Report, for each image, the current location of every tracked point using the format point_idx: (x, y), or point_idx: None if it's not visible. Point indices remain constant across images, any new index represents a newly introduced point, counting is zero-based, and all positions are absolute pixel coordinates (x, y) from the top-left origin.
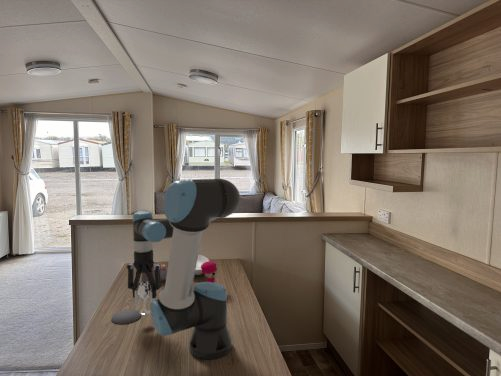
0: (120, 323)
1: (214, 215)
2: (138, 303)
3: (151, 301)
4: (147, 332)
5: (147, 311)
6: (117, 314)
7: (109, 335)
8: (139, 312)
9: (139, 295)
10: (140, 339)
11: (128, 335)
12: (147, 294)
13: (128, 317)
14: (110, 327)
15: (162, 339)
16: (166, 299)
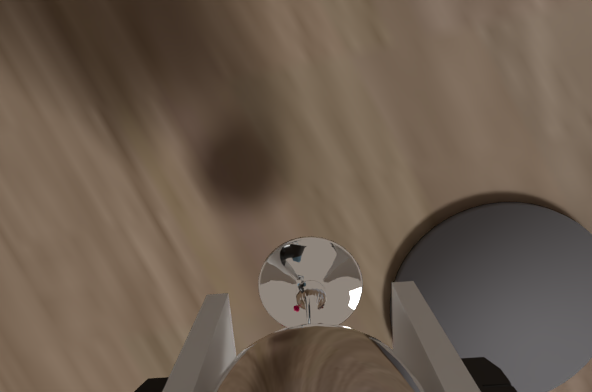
0: (497, 204)
1: None
2: (396, 331)
3: (194, 333)
4: (226, 128)
5: (282, 286)
6: (585, 317)
7: (497, 22)
8: (357, 265)
9: (356, 342)
10: (223, 18)
11: (346, 55)
12: (215, 387)
13: (475, 291)
14: (549, 140)
15: (62, 55)
16: None
